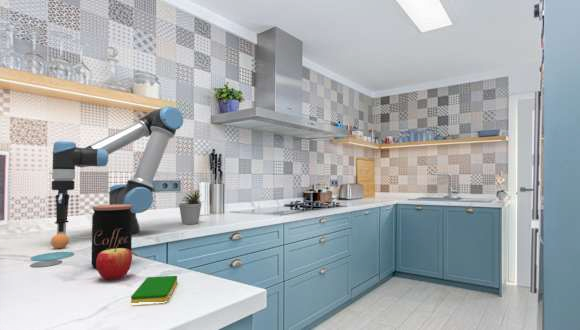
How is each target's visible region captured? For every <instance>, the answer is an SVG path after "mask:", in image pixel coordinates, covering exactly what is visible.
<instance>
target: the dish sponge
mask: <svg viewBox="0 0 580 330" xmlns="http://www.w3.org/2000/svg"><path fill="white" fill-rule="evenodd" d="M176 283H177V284H178V275H168V276H167V275H166V276H165V275H164V276H163V275H161V276H148V277H146V279H145V280H144V281H143V282H142V283H141V284H140V285H139V286H138V288H137V289H136V290H135V291H134V293H133V294H132V295H131V296H130V304H131V303H139V302H165V301H167V300H168V298H169V296H170V294H171V292H172V290H173V289H174V287H175V285H176ZM176 286H177V285H176ZM175 288H176V287H175ZM174 290H175V289H174ZM174 290H173V291H174ZM172 293H173V292H172ZM171 295H172V294H171ZM170 297H171V296H170ZM169 299H170V298H169ZM168 301H169V300H168Z"/></svg>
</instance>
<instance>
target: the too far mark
mask: <svg viewBox="0 0 580 330" xmlns="http://www.w3.org/2000/svg"><path fill="white" fill-rule="evenodd" d="M62 263H63V260H62V259H56V260H46V261H37V262H33V263H31V264H30V265H29V267H30V268H47V267H53V266H56V265H61V264H62Z"/></svg>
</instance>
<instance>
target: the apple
mask: <svg viewBox="0 0 580 330" xmlns="http://www.w3.org/2000/svg"><path fill="white" fill-rule="evenodd" d="M121 241H122V239H121V240H120V242H121ZM120 242H119V243H120ZM119 243H118V244H119ZM118 244H117V246H118ZM117 246H116V249H109V250H105V251H102V252H100V253H99V254H98V256H97V260H96V266H97V269H96V270H97V272H98V274H99V276H100V277H101V278H103V279H105V280H107V281H108V280H110V281H114V279H115V280H119V279H121V278H123V277H124V276H126V274H128V272H129V270H130V268H131V266H132V261H133V254H132V250H131V251H130V250H129V249H126V248H117Z"/></svg>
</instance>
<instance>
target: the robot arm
mask: <svg viewBox="0 0 580 330" xmlns="http://www.w3.org/2000/svg"><path fill="white" fill-rule="evenodd" d="M183 124H184V115H183V113H182V112H181V111H180V109H178V108H177V107H175V106H172V105H169V106H168V105H167V106H163V107H161V108H158V109H154V110H152V111H150V112H149V113H148V114H146V115H144V116H142V117H140V118H139V119H137V120H136V121H135V122H134V123H133V124H131V125H129V126H127V127H125V128H123V129H120V130H118V131H116V132H115V133H112V134H110V135H108V136H107V137H105V138H102V139H100V140H98V141H96V142H94V143H92V144H90V145H88V146H86V147H79V146H77V145H76V142H73V141H66V140H65V141H64V140H63V141H61V140H60V141H59V140H58V141H55V142H54V143H53V146H52V147H53V148H52V152H51V154H52V169H51V171H50V173H49V174H50V175H51V179H52V181H51V190H52V191H57V194H55V206H56V208H55V211H56V218H55V219H56V220H55V221H54V224H55V225H57V227H56V235H57V234H65V235H66V236H67V223H69V220H68V212H69V201H70V200H69V199H70V194H68V193H69V192H68V191H73V190H75V178H76V167H77V168H87V167H98V168H99V167H106V166H107V165H108V162H109V155H111V154H112V153H114V152H117V151H118V150H120V149H122V148H124V147H126V146H128V145H130V144H132V143H134V142H136V141H138V140H140V139H142V138H143V137H146V138H148V137H149V139H148V141H147V143H146V145H145V148H144V151H143V153H142V155H141V158H140V160H139V163H138V165H137V168H136V170H135V172H134V175H133V177H132V178H129V179H128V180H127V182H126V183H123V184H115V185H112V186H110V187H109V192H108V194H109V195H108V197H109V199H108V200H109V201H108V203H109V204H108V205H115V204H128V205H132V208H131V209H130V211H131V212H132V234H136V233H140V225H139V221H138V218H137V214H141V213H144V212H146V211H147V210H149V209H150V208H151V206H152V205H153V202H154V196H153V192H154V185H153V182H154V180H155V177H156V175H157V172H158V169H159V166H160V164H161V161H162V159H163V156H164V154H165V151H166V148H167V146H168V144H169V140H170V139H173V138H174V137H175V134H176V132H177V131H178V130H179V129H180V128H181V127H182V126H183Z"/></svg>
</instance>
